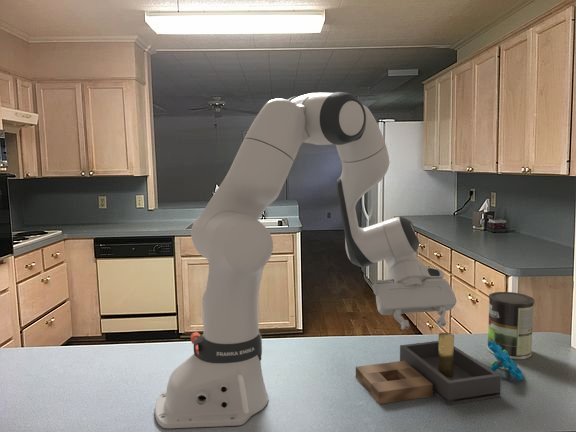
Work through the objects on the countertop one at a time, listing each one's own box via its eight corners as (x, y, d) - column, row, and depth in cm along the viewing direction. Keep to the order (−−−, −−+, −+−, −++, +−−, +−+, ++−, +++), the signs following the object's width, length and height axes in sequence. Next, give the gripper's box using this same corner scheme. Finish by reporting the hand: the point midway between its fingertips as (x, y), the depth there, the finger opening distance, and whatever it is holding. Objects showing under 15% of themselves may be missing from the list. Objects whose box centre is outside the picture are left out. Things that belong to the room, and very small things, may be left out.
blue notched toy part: (526, 382, 95) (491, 343, 98) (503, 398, 96) (469, 359, 100) (526, 369, 104) (494, 333, 108) (505, 383, 106) (474, 348, 110)
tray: (448, 404, 89) (448, 383, 89) (399, 363, 109) (400, 345, 108) (500, 396, 92) (500, 375, 92) (444, 357, 112) (444, 340, 111)
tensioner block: (378, 403, 90) (378, 392, 90) (355, 377, 102) (355, 366, 102) (432, 395, 93) (432, 384, 93) (404, 370, 105) (404, 360, 104)
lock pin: (443, 378, 98) (443, 338, 97) (435, 372, 102) (435, 333, 101) (456, 376, 99) (457, 337, 98) (448, 370, 102) (448, 331, 101)
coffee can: (494, 358, 110) (496, 302, 109) (482, 342, 121) (483, 291, 119) (539, 360, 109) (541, 303, 108) (523, 344, 119) (525, 292, 118)
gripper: (373, 274, 115) (387, 324, 107) (448, 270, 118) (467, 318, 110) (367, 287, 120) (380, 335, 112) (439, 282, 123) (457, 329, 115)
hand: (424, 327), depth 111 cm, fingers open, 8 cm apart
